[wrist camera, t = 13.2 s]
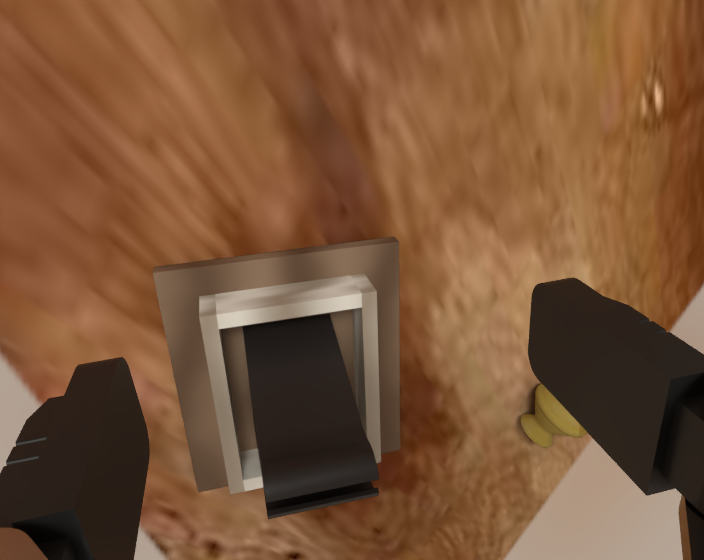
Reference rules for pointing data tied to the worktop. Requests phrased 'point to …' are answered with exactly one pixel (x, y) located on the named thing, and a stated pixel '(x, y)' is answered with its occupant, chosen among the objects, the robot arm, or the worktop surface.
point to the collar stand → (268, 306)
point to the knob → (549, 420)
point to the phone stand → (306, 417)
